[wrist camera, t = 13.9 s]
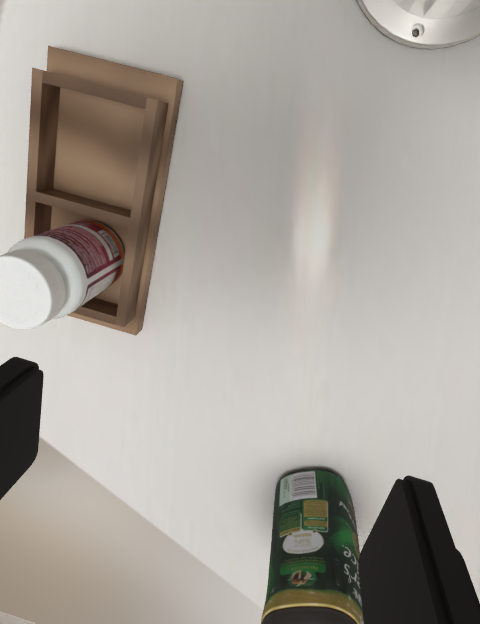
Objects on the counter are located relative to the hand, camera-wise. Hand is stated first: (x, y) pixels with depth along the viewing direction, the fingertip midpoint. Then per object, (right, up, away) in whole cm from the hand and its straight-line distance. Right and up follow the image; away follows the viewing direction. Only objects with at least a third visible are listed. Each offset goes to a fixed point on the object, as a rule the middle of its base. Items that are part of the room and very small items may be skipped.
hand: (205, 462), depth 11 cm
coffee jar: (+9, -16, +36) cm, 40 cm away
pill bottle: (-12, +9, +28) cm, 32 cm away
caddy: (-11, +13, +27) cm, 33 cm away
